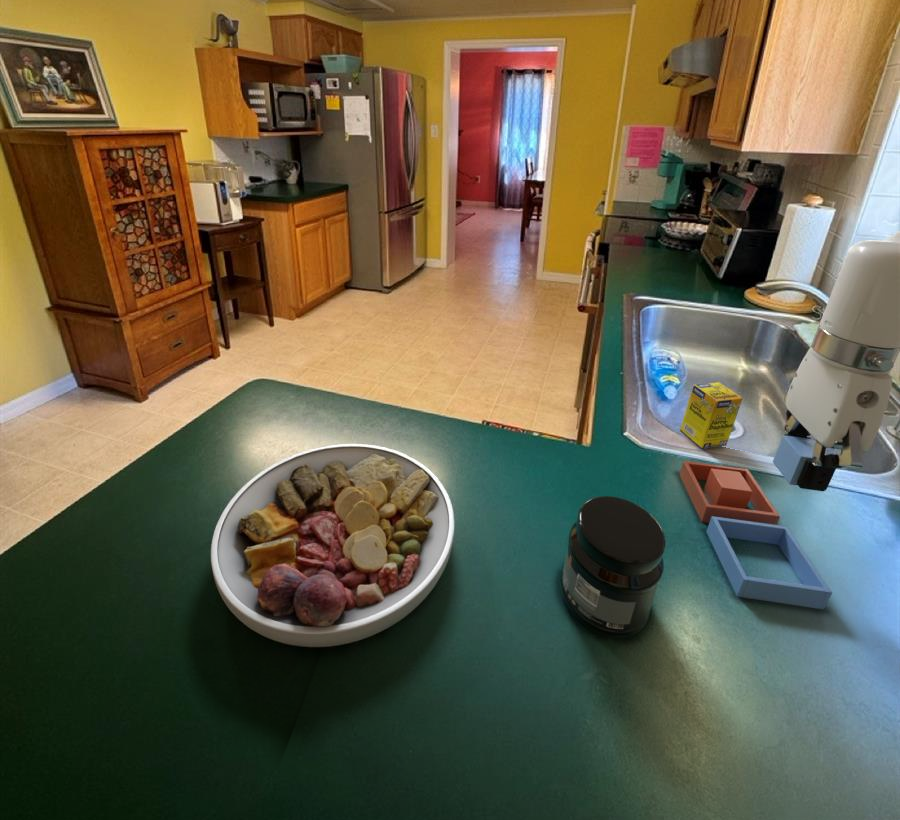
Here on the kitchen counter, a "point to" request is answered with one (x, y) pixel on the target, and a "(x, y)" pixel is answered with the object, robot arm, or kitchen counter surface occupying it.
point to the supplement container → (613, 566)
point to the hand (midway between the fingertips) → (799, 473)
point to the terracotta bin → (706, 510)
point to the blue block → (794, 456)
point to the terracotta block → (727, 489)
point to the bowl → (332, 544)
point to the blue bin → (763, 589)
